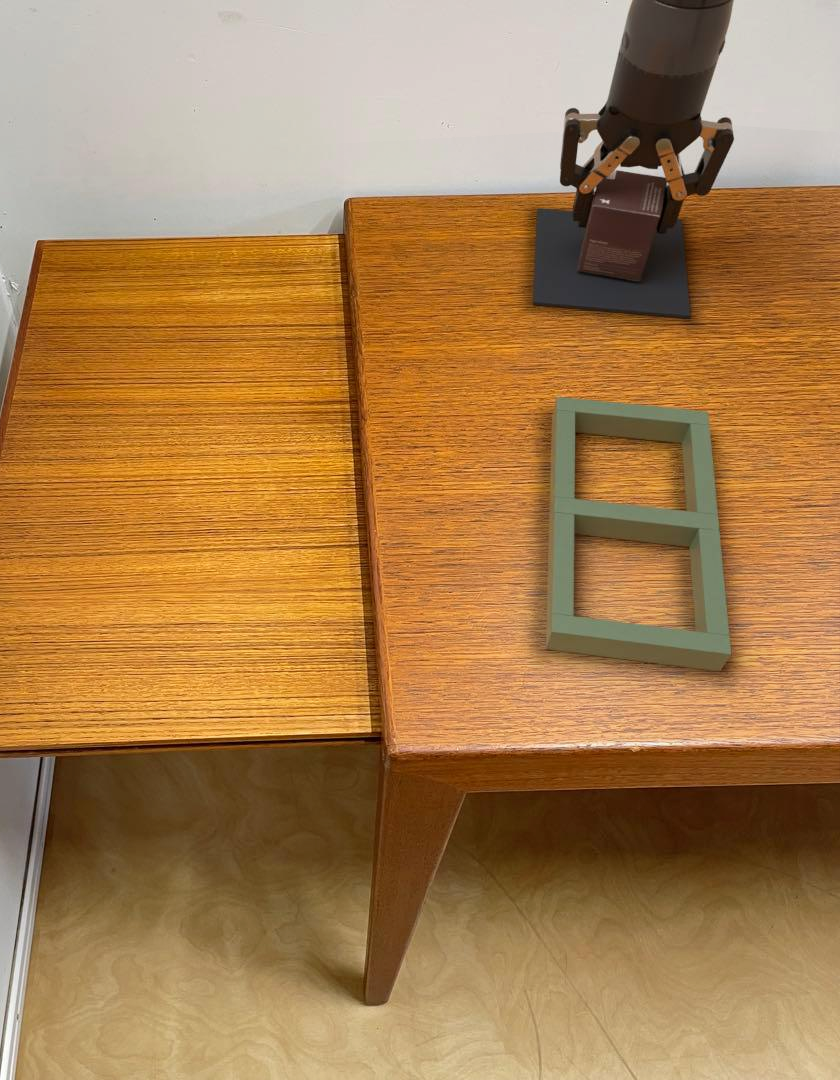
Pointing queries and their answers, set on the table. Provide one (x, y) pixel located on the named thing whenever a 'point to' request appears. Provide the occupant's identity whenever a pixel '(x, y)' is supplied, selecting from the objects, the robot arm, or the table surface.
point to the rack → (637, 536)
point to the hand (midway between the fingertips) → (620, 224)
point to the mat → (581, 290)
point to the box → (622, 225)
